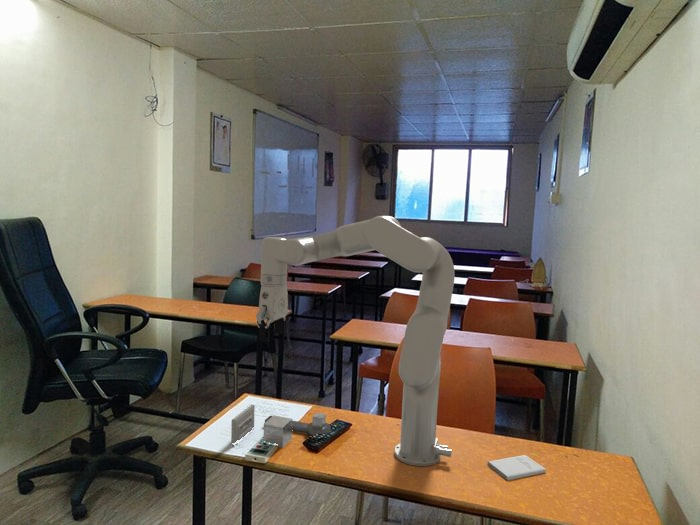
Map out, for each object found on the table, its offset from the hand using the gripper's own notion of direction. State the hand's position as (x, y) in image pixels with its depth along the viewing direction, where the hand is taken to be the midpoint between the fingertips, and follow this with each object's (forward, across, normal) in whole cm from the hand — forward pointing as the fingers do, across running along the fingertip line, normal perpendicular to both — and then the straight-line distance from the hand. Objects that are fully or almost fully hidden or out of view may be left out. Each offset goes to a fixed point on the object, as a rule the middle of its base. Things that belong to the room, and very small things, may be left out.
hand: (271, 337), depth 145 cm
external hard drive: (+28, +5, -71) cm, 76 cm away
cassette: (+29, -7, +4) cm, 30 cm away
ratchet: (+28, +4, -9) cm, 30 cm away
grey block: (+28, -6, -6) cm, 30 cm away
